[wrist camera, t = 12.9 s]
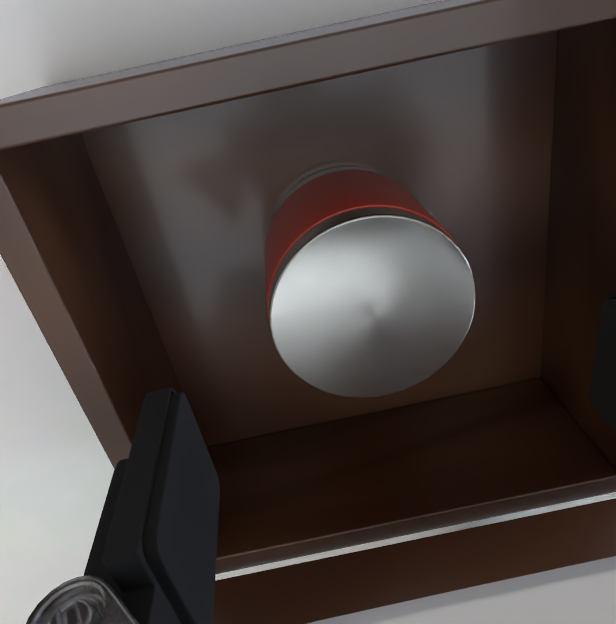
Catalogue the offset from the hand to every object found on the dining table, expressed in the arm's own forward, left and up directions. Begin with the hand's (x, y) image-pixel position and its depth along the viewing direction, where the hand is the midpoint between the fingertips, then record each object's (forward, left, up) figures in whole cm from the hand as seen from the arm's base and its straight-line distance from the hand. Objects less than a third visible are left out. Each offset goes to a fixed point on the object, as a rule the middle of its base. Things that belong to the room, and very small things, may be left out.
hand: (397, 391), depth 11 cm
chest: (0, +1, -10) cm, 10 cm away
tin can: (0, 0, -9) cm, 9 cm away
